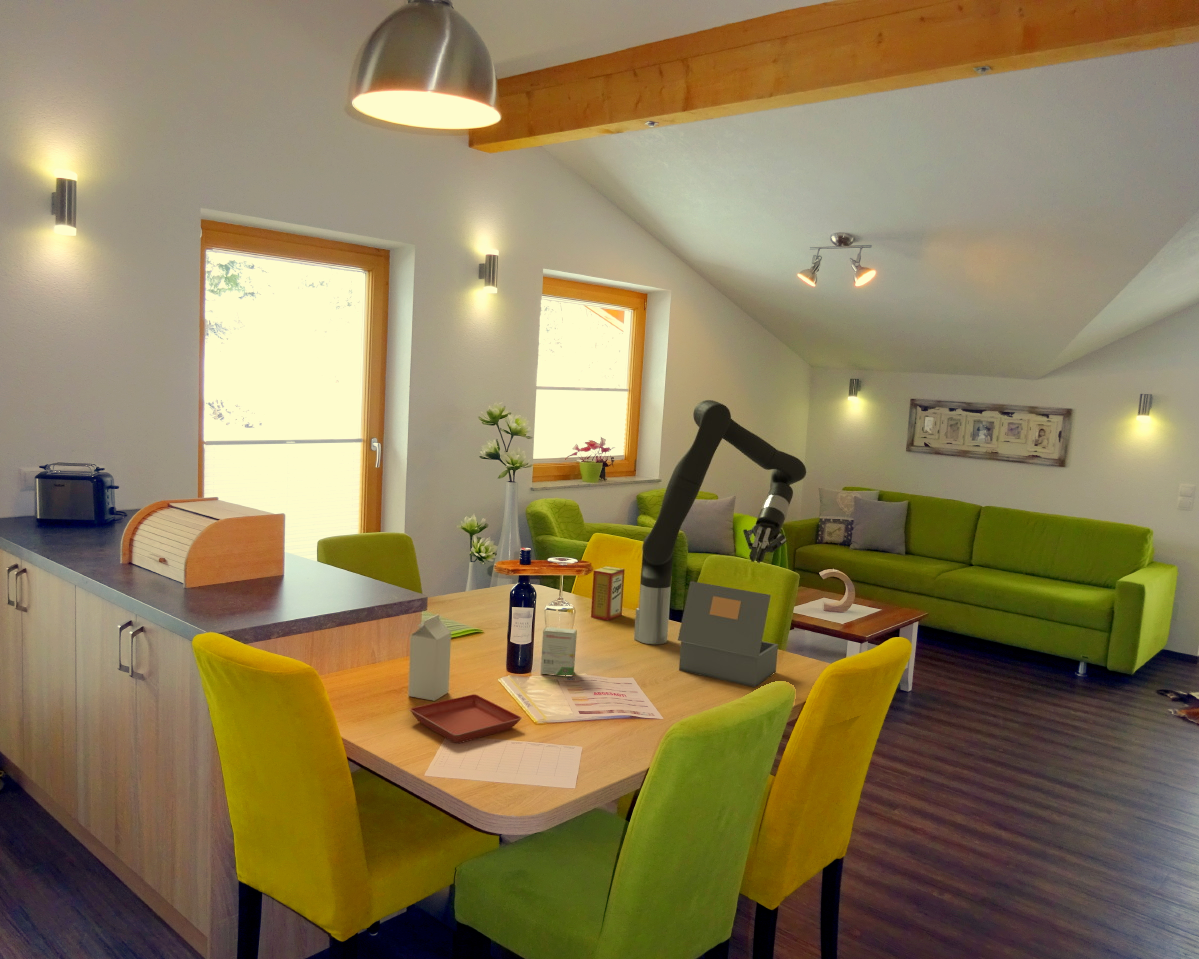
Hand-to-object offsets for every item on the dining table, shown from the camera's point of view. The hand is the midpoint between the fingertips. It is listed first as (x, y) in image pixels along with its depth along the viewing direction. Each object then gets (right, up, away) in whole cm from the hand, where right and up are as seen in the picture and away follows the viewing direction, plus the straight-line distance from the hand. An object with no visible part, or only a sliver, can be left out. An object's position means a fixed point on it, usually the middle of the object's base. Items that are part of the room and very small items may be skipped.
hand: (755, 560), depth 265 cm
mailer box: (-9, -30, -10) cm, 32 cm away
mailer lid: (-11, -14, -16) cm, 24 cm away
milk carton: (-85, -29, -42) cm, 99 cm away
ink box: (-55, -28, -20) cm, 65 cm away
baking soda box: (-42, -22, +42) cm, 64 cm away
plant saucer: (-74, -32, -60) cm, 100 cm away
